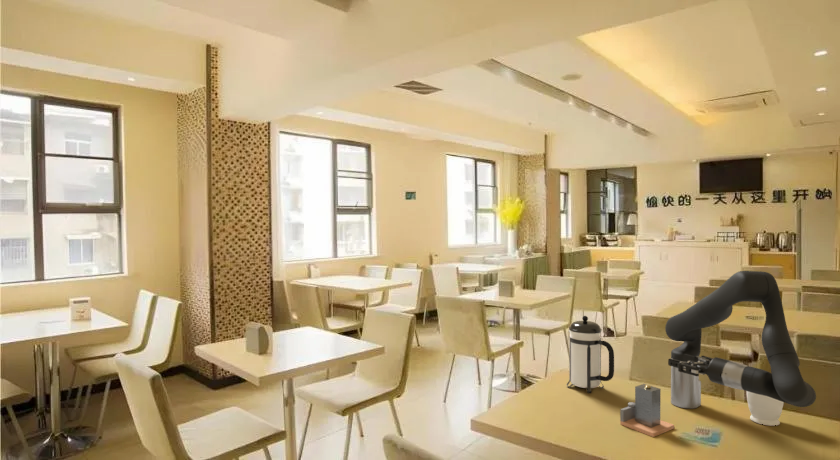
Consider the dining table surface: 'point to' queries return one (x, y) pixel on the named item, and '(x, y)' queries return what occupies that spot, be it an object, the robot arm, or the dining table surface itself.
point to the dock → (629, 421)
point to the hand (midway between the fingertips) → (676, 359)
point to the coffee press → (587, 355)
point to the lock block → (647, 405)
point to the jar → (764, 409)
